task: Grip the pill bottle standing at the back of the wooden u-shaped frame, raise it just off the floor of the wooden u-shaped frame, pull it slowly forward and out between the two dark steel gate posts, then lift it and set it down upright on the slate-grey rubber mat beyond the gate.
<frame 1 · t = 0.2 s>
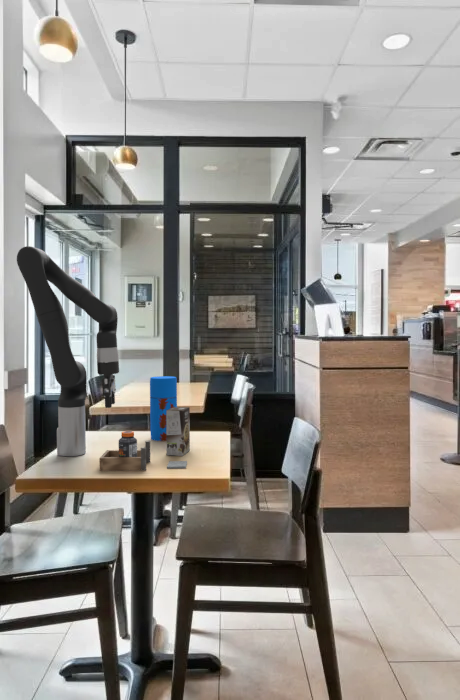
hand: (110, 405, 188), 17 cm above the table, tool pointing down, fingers open, 8 cm apart
thermos: (163, 438, 216), on the table
wooden u-shaped frame: (125, 466, 171), on the table
mat: (177, 465, 172), on the table
coffee box: (178, 453, 190), on the table
pill bottle: (128, 466, 171), resting in wooden u-shaped frame
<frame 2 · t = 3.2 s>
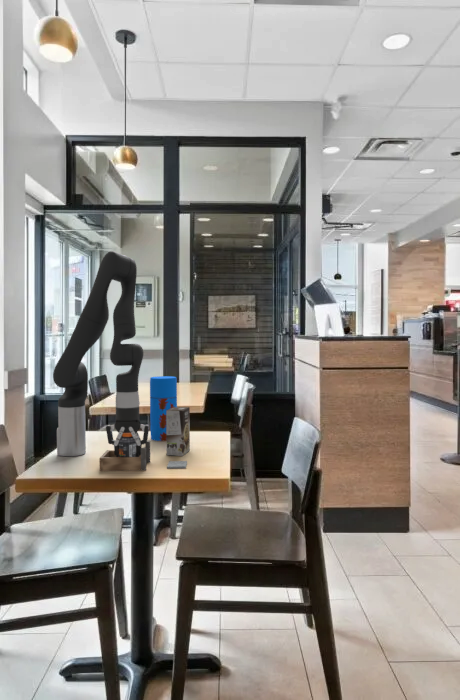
hand: (128, 456, 171), 3 cm above the table, tool pointing down, fingers closed on pill bottle, 6 cm apart
pill bottle: (128, 466, 171), resting in wooden u-shaped frame, touching gripper
everything else where it was.
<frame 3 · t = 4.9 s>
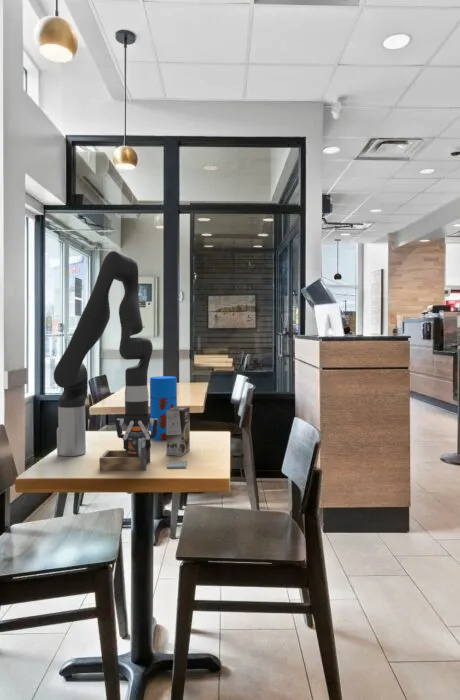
hand: (137, 450, 171), 5 cm above the table, tool pointing down, fingers closed on pill bottle, 6 cm apart
pill bottle: (137, 460, 171), point 2 cm above the table, touching gripper
everything else where it was.
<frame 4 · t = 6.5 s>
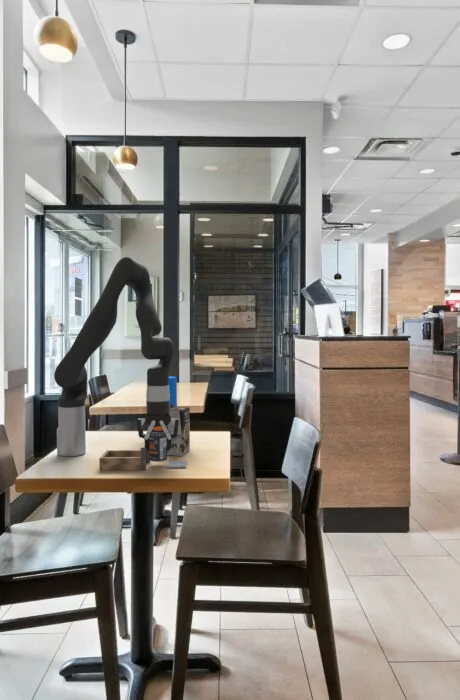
hand: (158, 450, 171), 5 cm above the table, tool pointing down, fingers closed on pill bottle, 6 cm apart
pill bottle: (158, 460, 172), point 2 cm above the table, touching gripper
everything else where it was.
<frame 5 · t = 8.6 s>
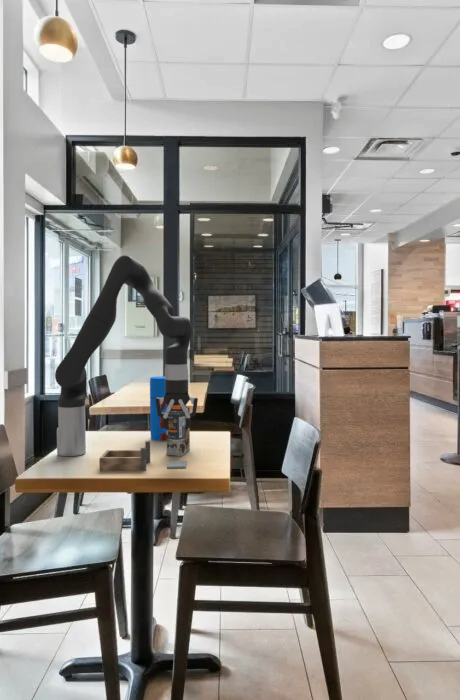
hand: (177, 429, 172), 12 cm above the table, tool pointing down, fingers closed on pill bottle, 6 cm apart
pill bottle: (177, 439, 172), point 9 cm above the table, touching gripper
everything else where it was.
when the fingers open (4 cm above the table, at t = 10.3 s): pill bottle stays where it is, resting on mat.
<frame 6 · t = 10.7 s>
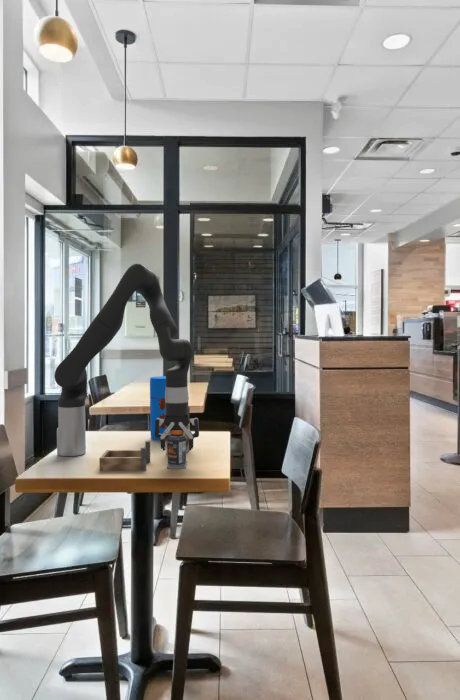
hand: (177, 450, 172), 5 cm above the table, tool pointing down, fingers open, 8 cm apart
pill bottle: (177, 464, 172), resting on mat
everything else where it was.
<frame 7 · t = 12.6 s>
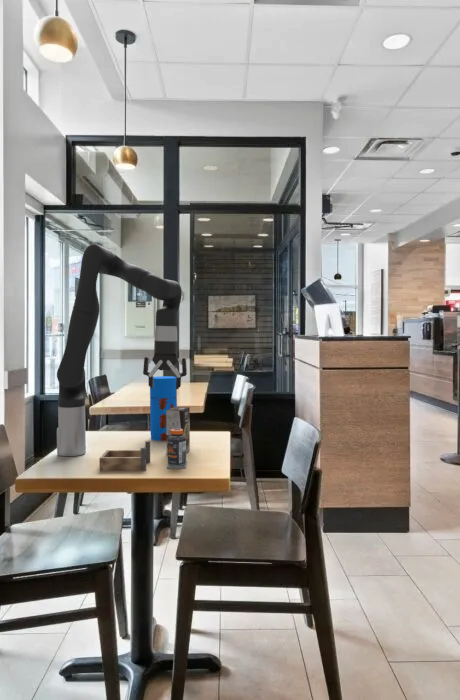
hand: (164, 388, 176), 25 cm above the table, tool pointing down, fingers open, 8 cm apart
nothing on the table moved.
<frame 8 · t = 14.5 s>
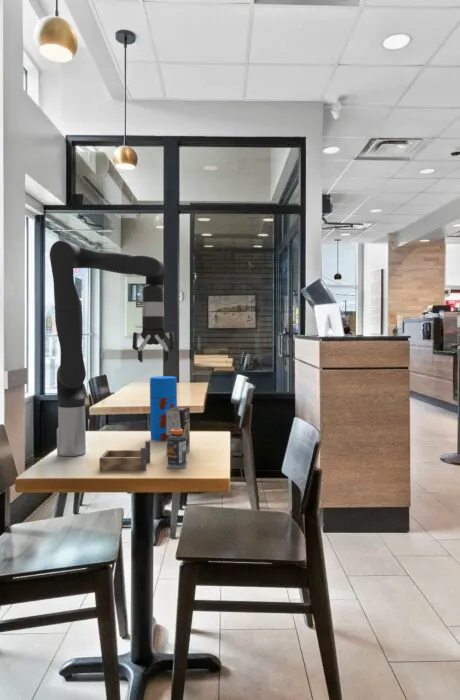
hand: (153, 362, 183), 33 cm above the table, tool pointing down, fingers open, 8 cm apart
nothing on the table moved.
at the end: pill bottle inside the target area (0.4 cm from its centre), resting on mat; pill bottle tilted 0°; the gripper is holding nothing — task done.
